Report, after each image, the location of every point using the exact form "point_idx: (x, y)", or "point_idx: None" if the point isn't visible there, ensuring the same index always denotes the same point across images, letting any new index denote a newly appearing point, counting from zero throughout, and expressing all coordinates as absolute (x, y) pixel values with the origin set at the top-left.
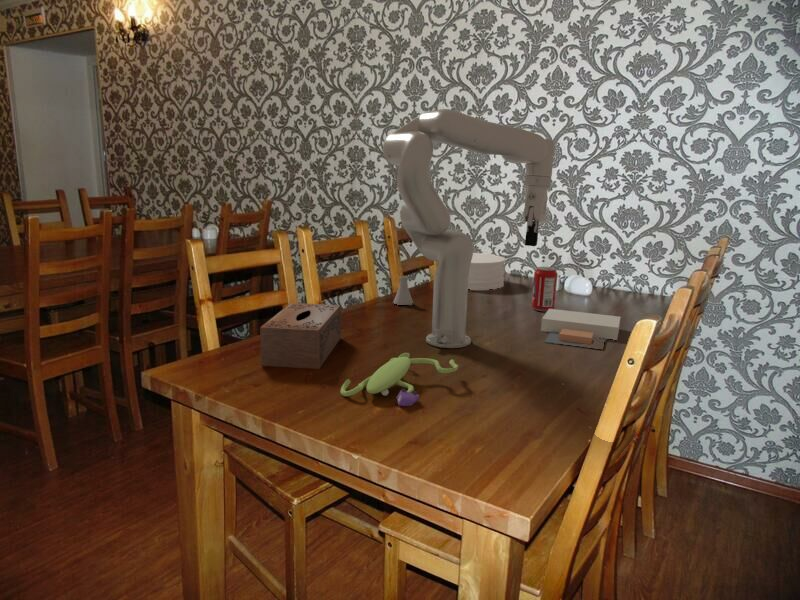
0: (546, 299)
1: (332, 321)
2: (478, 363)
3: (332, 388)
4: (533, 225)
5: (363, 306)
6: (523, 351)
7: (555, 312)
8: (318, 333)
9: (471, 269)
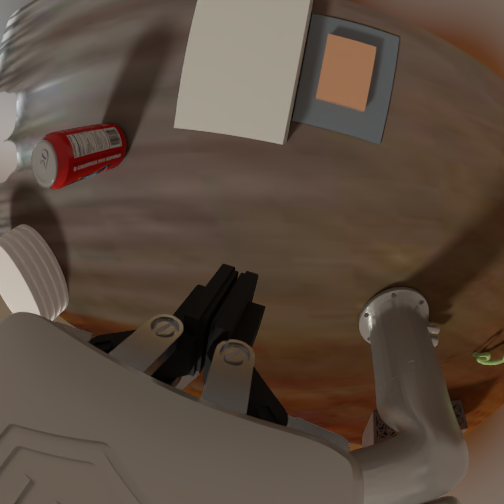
0: (110, 141)
1: None
2: (484, 272)
3: (501, 377)
4: (285, 425)
5: None
6: (438, 196)
7: (207, 110)
8: (467, 426)
9: (40, 290)
